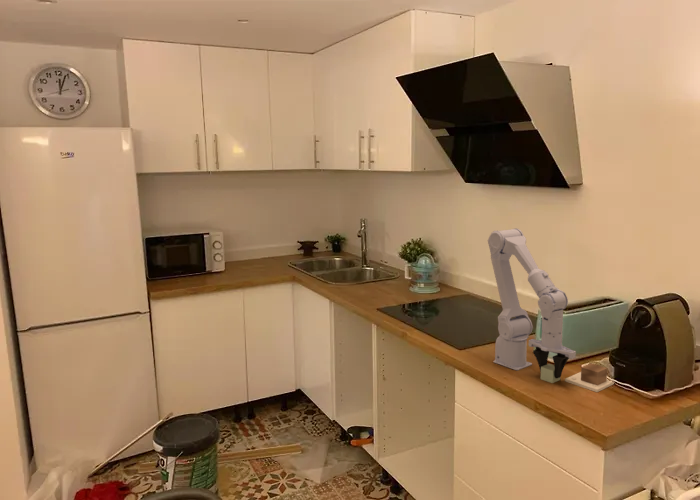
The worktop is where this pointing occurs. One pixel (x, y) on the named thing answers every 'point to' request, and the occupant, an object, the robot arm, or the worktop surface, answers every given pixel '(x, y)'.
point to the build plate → (577, 381)
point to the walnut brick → (594, 374)
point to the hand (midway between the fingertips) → (550, 374)
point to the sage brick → (548, 373)
